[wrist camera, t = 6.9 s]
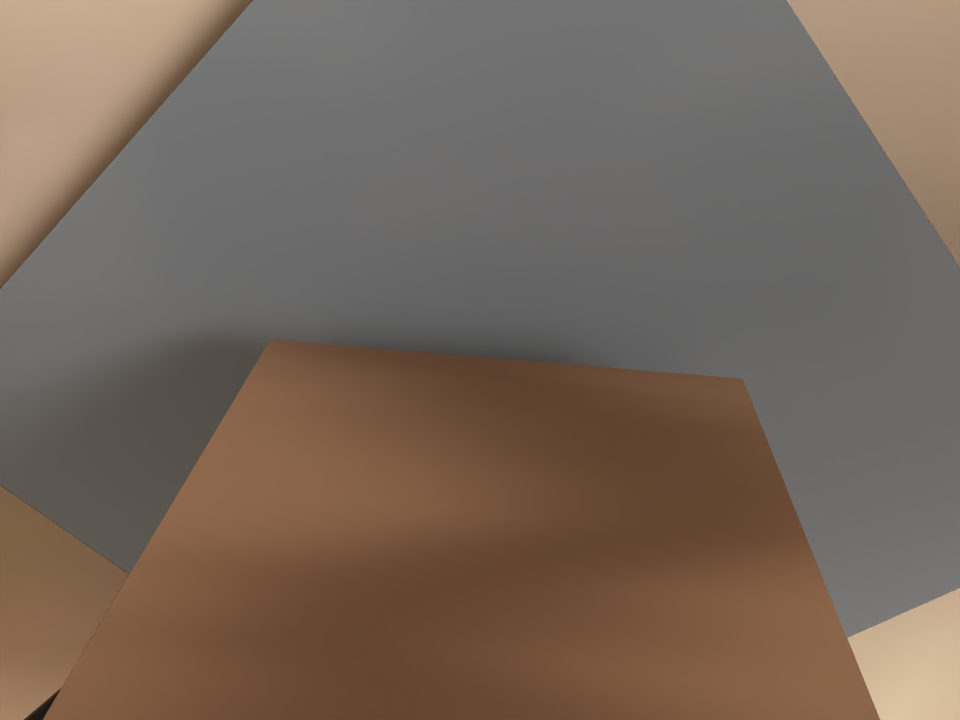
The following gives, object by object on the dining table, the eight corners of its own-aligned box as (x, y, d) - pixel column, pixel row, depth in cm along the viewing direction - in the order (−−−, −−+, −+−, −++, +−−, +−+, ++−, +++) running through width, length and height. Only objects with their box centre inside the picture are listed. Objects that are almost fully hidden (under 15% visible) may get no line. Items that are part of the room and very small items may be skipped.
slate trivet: (1085, 478, 11) (1120, 516, 11) (468, 766, 16) (465, 806, 15) (558, -328, 7) (559, -350, 6) (-70, 380, 12) (-107, 411, 11)
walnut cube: (741, 379, 8) (958, 911, 4) (660, 684, 11) (735, 1202, 7) (269, 339, 8) (-13, 812, 4) (300, 650, 11) (145, 1137, 7)
